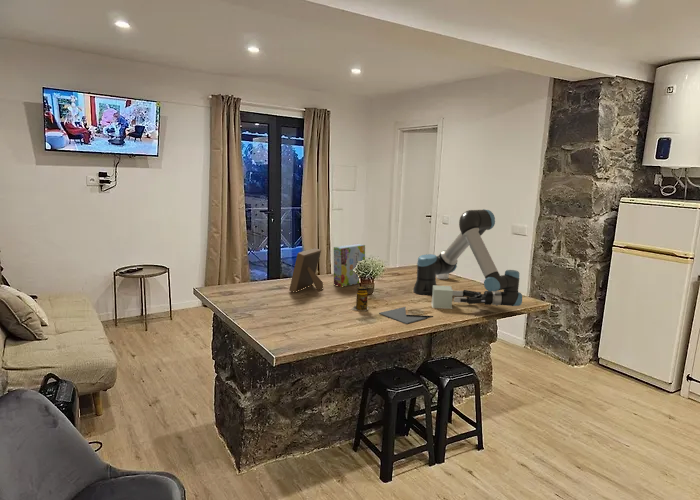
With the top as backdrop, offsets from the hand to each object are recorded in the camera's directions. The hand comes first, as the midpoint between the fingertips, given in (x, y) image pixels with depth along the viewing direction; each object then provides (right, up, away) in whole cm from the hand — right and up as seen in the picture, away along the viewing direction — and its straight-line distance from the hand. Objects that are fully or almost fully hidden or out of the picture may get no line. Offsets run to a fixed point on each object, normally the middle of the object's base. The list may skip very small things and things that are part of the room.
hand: (452, 296), depth 255 cm
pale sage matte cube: (-6, -5, +2) cm, 8 cm away
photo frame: (-82, 0, +35) cm, 89 cm away
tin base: (-6, -7, +2) cm, 9 cm away
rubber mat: (-27, -9, -12) cm, 31 cm away
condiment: (-51, -7, -2) cm, 51 cm away
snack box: (-57, +3, +53) cm, 78 cm away
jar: (+9, +5, +75) cm, 76 cm away
